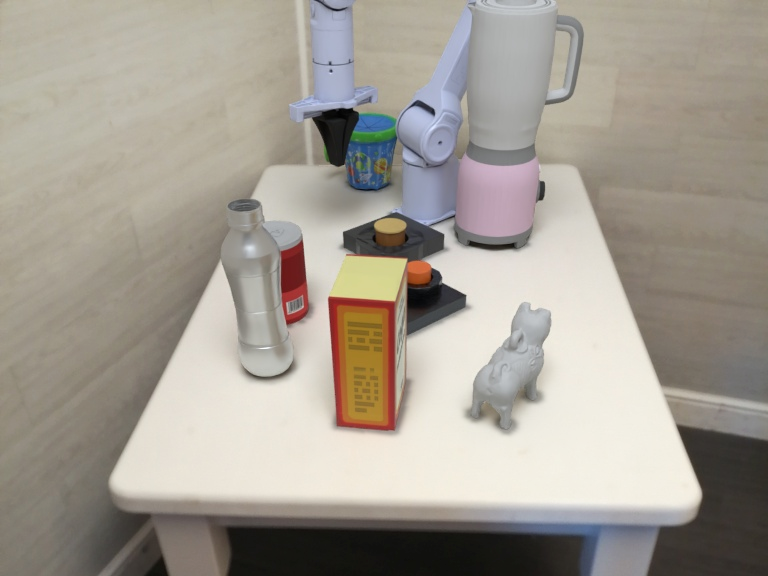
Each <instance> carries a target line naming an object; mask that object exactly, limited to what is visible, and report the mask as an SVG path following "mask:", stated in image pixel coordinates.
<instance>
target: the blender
mask: <svg viewBox="0 0 768 576" xmlns="http://www.w3.org/2000/svg"><path fill="white" fill-rule="evenodd" d="M465 5H466V4H465ZM466 6H467V7H468V8H469V9H470V11H471V13H472V23H471V32H470V40H469V52H468V68H467V90H466V103H467V105H466V106H467V120H468V122H467V123H468V131H469V132H468V133H469V134H468V135H469V136H468V137H469V139H468V144H467V147H466V149H465V151H464V153H463V155H462V157H461V159H460V161H459V162H460V166H459V171H458V182H457V198H456V215H454V221H453V228H454V231H455V232H456V233H457V239H458V240H457V241H458V243H460V244H462V245H463V246H465V247H466V246H469V245H470V241H471V242H474V243H478V244H484V245H508V244H514V248H516V249H520V248H523V247H524V246H525V245H526V243H527V239H528V237H529V236H530V235H531V234H532V232H533V225H534V217H535V210H536V205H537V204H538V202H541V201H543V200H544V199H545V195H546V182H545V181H544V180H540V173H541V163H540V162H539V159H538V156H537V151H536V138H537V134H538V130H539V126H540V125H541V120H542V115H543V112H544V110H545V106H549V105H555V104H560V103H564V102H567V101H568V100H570V99H571V98H572V97H573V95H574V93H575V89H576V86H577V81H578V76H579V71H580V65H581V58H582V54H583V46H584V39H585V38H584V37H585V35H584V34H585V31H584V28H583V24H582V23H581V22H580V20H579V19H577V18H576V17H573V16H570V15H565V14H564V15H563V14H558V11H559V5H558V3H557V1H556V0H476V2H473V3H468V4H467V5H466ZM556 31H557V32H566V33H568V34H569V36H570V38H569V39H570V40H569V47H568V54H567V61H566V62H567V63H566V68H565V74H564V79H563V84H562V87H561V88H558V89H552V90H549V88H550V82H551V77H552V76H551V75H552V69H553V68H552V67H553V62H554V54H555V48H556V47H555V45H556V34H557V32H556Z"/></svg>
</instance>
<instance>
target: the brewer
mask: <svg viewBox="0 0 768 576" xmlns="http://www.w3.org/2000/svg"><path fill="white" fill-rule="evenodd" d="M466 307H467V294H465V293H463V292H461V291H459V290H457V289H456V288H453V287H451V286H450V285H448V284H446V283H444V282H443V276H442V274H441V271H439V270H437V268H434V267H432V266H431V280H430V282H428V283H425V284H412V283H408V282H407V337H408V336H410V335H412V334H414V333H416V332H417V331H420V330H422V329H424V328H427V327H428V326H430V325H432V324H434V323H437V322H438V321H440V320H442V319H445V318H446V317H449V316H451V315H454V314H455V313H457V312H459V311H461V310H463V309H465V308H466Z"/></svg>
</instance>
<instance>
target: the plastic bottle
mask: <svg viewBox="0 0 768 576" xmlns="http://www.w3.org/2000/svg"><path fill="white" fill-rule="evenodd" d="M225 210H226V216H227V217H226V224H227V226H228V227H229V228H230V229H229V230H228V232H227V234H226V236H225V238H224V240H223V242H222V243H221V246H220V255H219V258H220V261H221V265H222V268H223V270H224V271H223V272H224V273H225V274H224V275H225V276H226V280H227V283H228V285H229V289H230V292H231V296H232V301H233V305H234V309H235V316H236V326H237V354H238V357H239V360H240V363H241V366H242V367H243V368H244V369H246V371H248V372H249V373H250V374H251V375H254V376H257V377H264V378H265V377H274V376H278V375H281V374H283V373H284V372H286V371H287V370H288V369H289V368H290V366H291V365H292V363H293V360H294V349H295V348H294V344H293V340H292V337H291V334H290V331H289V329H288V325H286V320H285V316H284V311H283V307H282V298H281V297H282V295H281V251H280V249H279V246H278V244H277V242H276V240H275V239H274V238H273V237H272V235H271V234H270V233H269V232H268V231H267V230H266V229H265V228H264V227H263V224H264V222H265V221H266V220H265V215H264V211H263V205H262V202H261V201H260V200H258V199H256V198H250V197H249V198H248V197H246V198H245V197H244V198H243V197H242V198H235V199H233V200H231V201H229V202H227V203H226V205H225Z"/></svg>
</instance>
